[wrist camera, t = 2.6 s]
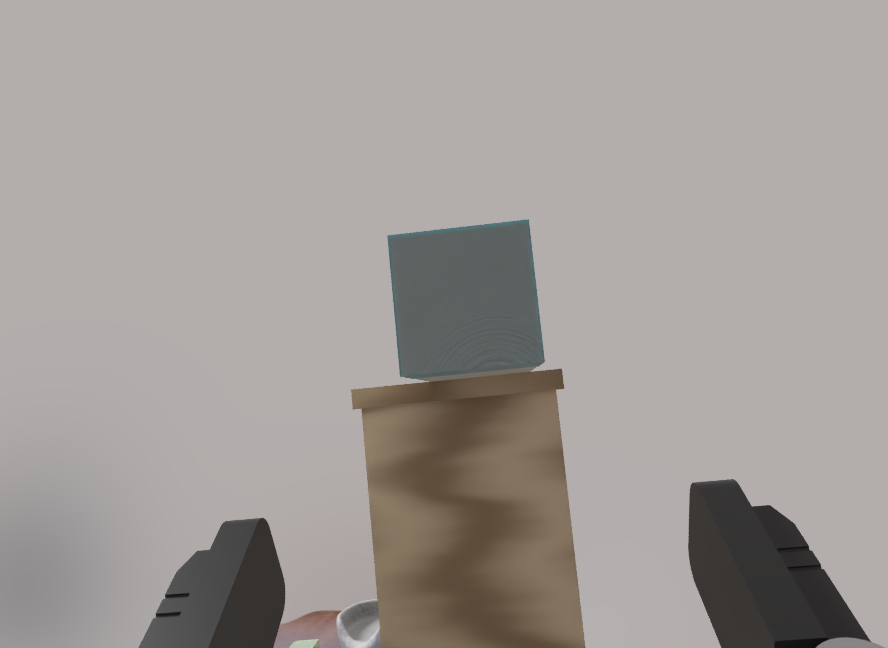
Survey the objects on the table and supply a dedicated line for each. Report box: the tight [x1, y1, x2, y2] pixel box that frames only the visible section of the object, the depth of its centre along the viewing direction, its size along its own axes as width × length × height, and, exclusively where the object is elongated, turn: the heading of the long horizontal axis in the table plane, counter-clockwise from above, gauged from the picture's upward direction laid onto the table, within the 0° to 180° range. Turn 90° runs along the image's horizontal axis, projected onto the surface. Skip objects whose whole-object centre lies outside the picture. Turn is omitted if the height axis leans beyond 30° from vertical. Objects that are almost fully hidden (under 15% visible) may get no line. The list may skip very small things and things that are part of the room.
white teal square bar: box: [388, 220, 545, 382], centre depth 32 cm, size 4×24×4 cm, turn 175°
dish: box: [337, 599, 382, 648], centre depth 92 cm, size 14×14×5 cm
